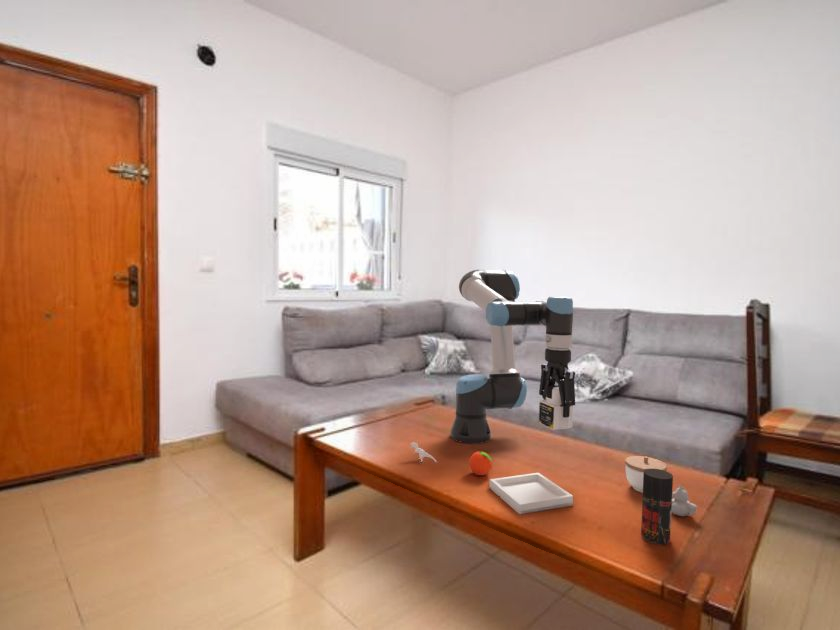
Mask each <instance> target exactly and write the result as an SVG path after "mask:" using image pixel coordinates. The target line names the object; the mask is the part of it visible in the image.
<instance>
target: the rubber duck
mask: <svg viewBox="0 0 840 630" xmlns="http://www.w3.org/2000/svg"><path fill="white" fill-rule="evenodd" d="M697 509H698V506H697V505H696V504H694V503H692V502H690V501H689V492H688V491H687V490H686V488H685V487H684V486H682V485H681V484H679V486H678V487H677V488H676V489H675V490H674V491H672V508H671V514H674V515H676V516H678V517H686V516H688V515H690V516H696V514H697V513H696V512H697Z"/></svg>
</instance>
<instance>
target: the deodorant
mask: <svg viewBox="0 0 840 630" xmlns="http://www.w3.org/2000/svg"><path fill="white" fill-rule="evenodd" d="M673 484H674V475H673V474H672V473H671V472H669V471H668V470H667V471H664V470H660V469H645V470H644V474H643V493H642V497H641V498H642V500H641V501H642V503H641V523H640V524H641V525H640V535H641V538H642V539H643V540H644V541H646V542H648V543H651V544H654V545H659V546H663V545H664V546H665V545H669V543H670V542H671V529H672V528H671V526H672V512H671V508H672V499H673V494H672V493H673V486H674V485H673Z"/></svg>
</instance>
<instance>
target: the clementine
mask: <svg viewBox="0 0 840 630" xmlns="http://www.w3.org/2000/svg"><path fill="white" fill-rule="evenodd" d="M492 465H493V460H492V458H491V457H490V455H489V454H488V453H487V452H485V451H480V450H479V451H475V452H474V453H472V455H471V456H470V458H469V460H468V466H469V468H470V470H471V472H473V474H475V475H477V476H485V475H487V474H489V472H490V471H491V469H492V467H493V466H492Z"/></svg>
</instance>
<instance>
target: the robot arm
mask: <svg viewBox="0 0 840 630" xmlns="http://www.w3.org/2000/svg"><path fill="white" fill-rule="evenodd" d="M458 284H459V285H458V290H459V294H460V295H461V296H462V297H463V298H464V299H465V300H466V301H468V302H472V303H475V305H476V306H478V307H479V309H481V310H482V311H483V312H484V313H485V319H486V320H487V321H486V322H487V324H488V325H490V340H491V341H490V344H491V360H492V370H491V371H490V372H489V373H488V375H489V377H488V376H487V375H486V374H478V373H477V374H476V373H475V374H473V373H472V374H466V375H463V376H461V377H459V378H458V379H457V381H456V385H455V417H454V421H453V423H452V426H451V429H450V438H451V437H452V438H453V439H455V440H454V441H456V440H457V441H456V442H458V441H461V442H460V443H463V442H466V443H465V444H482V443H481V442H484V443H487V442H489V441H490V440H491V439H492V437H491V436H492V434H491V433H492V432H491V429H490V424H489V422H488V419H487V418H488V417H487V412H488V410H505V409H510V410H512V409H518V408H521V407H522V406H523V404H524V403H525V401H526V399H527V392H528V386H527V383H526V380H525V378H523V377H522V376H521V375H520V371H519V370H518V369H517V368H516V362H515V361H516V360H515V357H516V356H515V345H514V330H513V327H514V326H517V327H519V326H530V327H531V326H532V327H533V326H544V327H545V347H546V348H545V349H544V360H545V361H546V362H547V363H546V364H545V363H542V364H541V365H540V369H541V373H540V381H539V382H540V383H539V388H538V389H539V390H538V392H539V393H538V394H539V396H542V399H543V400H546V388H547V387H548V386H551V385H556V384H557V385H558V387H559V393H560V398H561V403H562V405H560V412H559V428H565V429H569V428H568V420H569V414H570V413H569V412H570V406H573V407H574V406H576V389H575V385H576V384H575V378H576V372H575V371H572V370H570V368H569V366H568V365H569V363H570V362H571V361H572V350H571V348H572V346H573V345H572V344H573V322H574V321H573V320H574V301H573V298H571V297H570V296H549V297H547V299H546V301H542V300H541V301H538V300H536V301H516V300H517V299H518V298H519V296H520V291H521V288H520V282H519V278H518V277H517V275H516V273H515V272H514V271H512V270H504V269H473V270H471V271H468V272H466V273H465V274H464V275H463V276H462V277H461V279H460V281H459V283H458ZM565 401H566V402H565ZM452 438H451V439H452ZM490 438H491V439H490ZM453 439H452V440H453ZM488 440H489V441H488ZM486 441H487V442H486Z"/></svg>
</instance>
